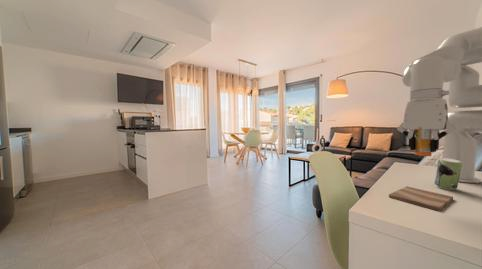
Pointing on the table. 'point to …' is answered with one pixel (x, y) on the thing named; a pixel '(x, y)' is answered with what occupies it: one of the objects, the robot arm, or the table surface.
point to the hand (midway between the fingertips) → (422, 150)
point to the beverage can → (448, 173)
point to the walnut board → (422, 198)
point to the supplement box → (423, 142)
